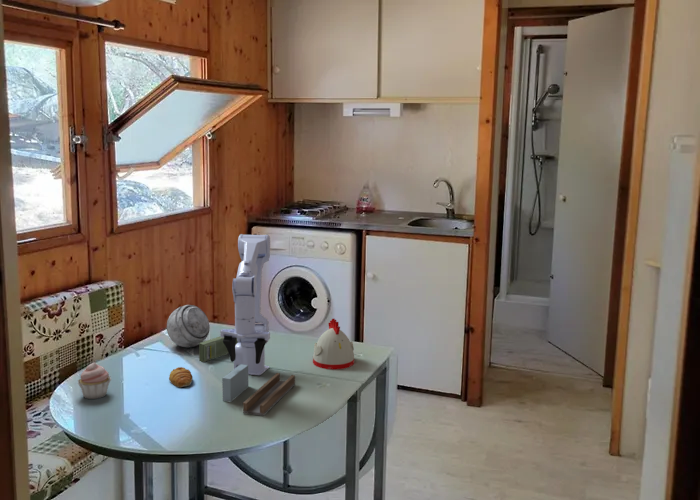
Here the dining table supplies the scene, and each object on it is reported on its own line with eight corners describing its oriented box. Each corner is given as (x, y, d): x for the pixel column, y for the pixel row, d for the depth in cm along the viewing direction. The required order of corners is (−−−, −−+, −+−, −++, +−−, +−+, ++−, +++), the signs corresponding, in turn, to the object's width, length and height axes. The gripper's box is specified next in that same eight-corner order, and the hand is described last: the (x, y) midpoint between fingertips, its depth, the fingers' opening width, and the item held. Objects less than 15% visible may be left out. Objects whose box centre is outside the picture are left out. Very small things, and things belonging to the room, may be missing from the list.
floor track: (243, 413, 187) (243, 402, 187) (276, 382, 210) (276, 373, 209) (263, 416, 186) (263, 405, 185) (295, 384, 208) (295, 375, 208)
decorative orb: (191, 355, 233) (190, 313, 230) (158, 349, 239) (156, 307, 236) (217, 343, 246) (216, 303, 243) (185, 337, 252) (184, 298, 249)
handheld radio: (197, 361, 228) (250, 342, 248) (204, 363, 226) (256, 344, 246) (197, 342, 227) (250, 325, 247) (204, 344, 225) (257, 327, 245)
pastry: (196, 386, 206) (196, 374, 205) (174, 390, 203) (173, 378, 202) (189, 376, 214) (188, 364, 214) (167, 379, 211) (167, 368, 211)
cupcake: (109, 400, 194) (107, 367, 192) (75, 402, 193) (72, 368, 191) (115, 388, 203) (113, 356, 202) (82, 389, 202) (80, 357, 200)
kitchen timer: (321, 371, 220) (322, 327, 217) (307, 358, 232) (307, 315, 229) (360, 366, 225) (361, 322, 222) (344, 353, 238) (345, 312, 235)
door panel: (222, 401, 195) (222, 377, 194) (240, 386, 207) (240, 364, 206) (230, 402, 195) (230, 378, 194) (248, 387, 206) (248, 365, 205)
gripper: (216, 319, 195) (217, 364, 197) (264, 322, 192) (265, 368, 195) (224, 312, 202) (225, 356, 204) (272, 315, 199) (272, 360, 202)
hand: (245, 361), depth 200 cm, fingers open, 7 cm apart
